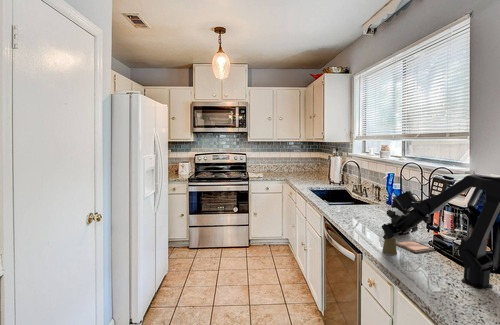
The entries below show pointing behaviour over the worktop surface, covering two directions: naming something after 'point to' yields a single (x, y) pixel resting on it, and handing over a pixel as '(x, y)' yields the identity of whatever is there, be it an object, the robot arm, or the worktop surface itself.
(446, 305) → the worktop surface
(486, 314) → the worktop surface
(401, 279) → the worktop surface
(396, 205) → the portable speaker
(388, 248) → the cork
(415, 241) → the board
